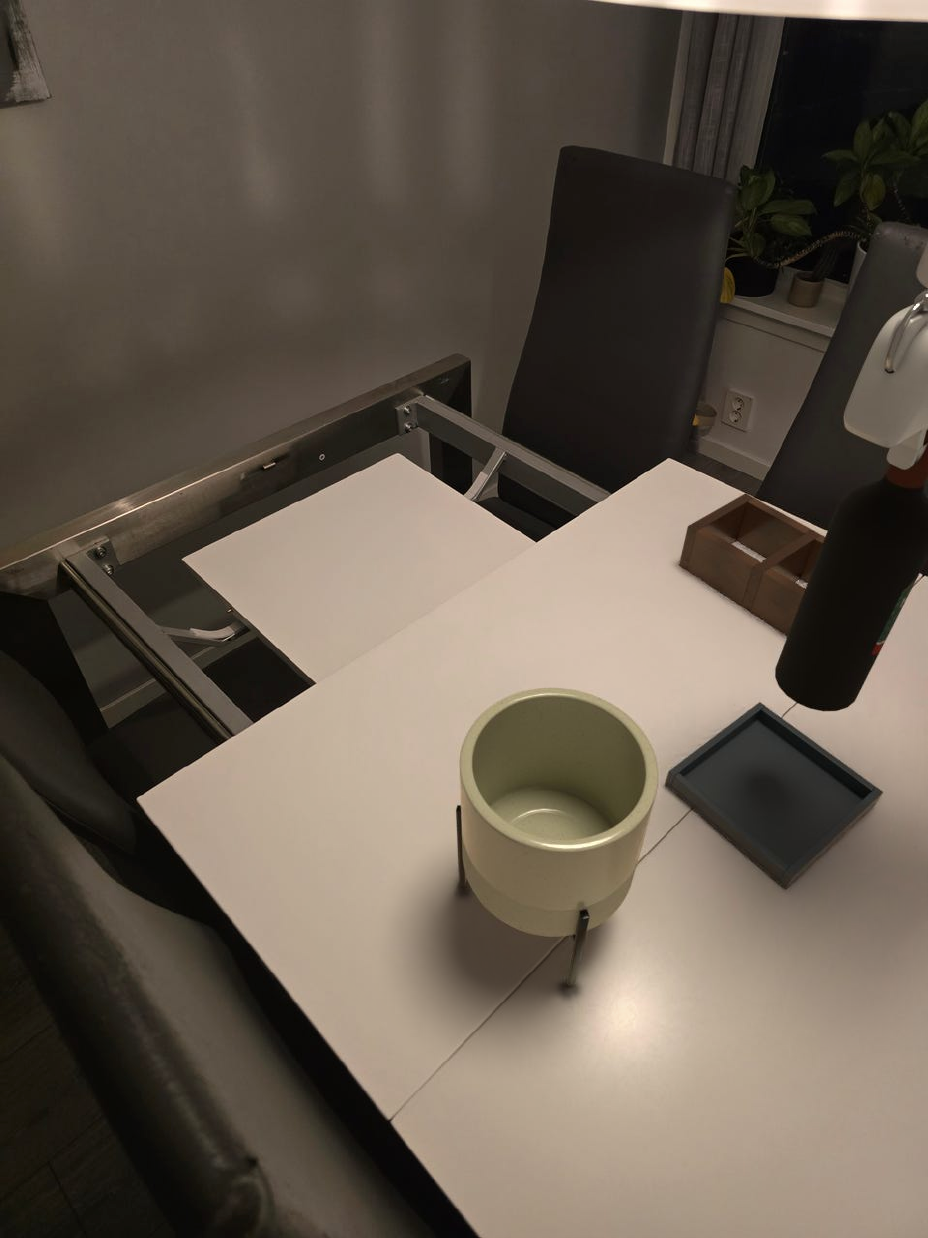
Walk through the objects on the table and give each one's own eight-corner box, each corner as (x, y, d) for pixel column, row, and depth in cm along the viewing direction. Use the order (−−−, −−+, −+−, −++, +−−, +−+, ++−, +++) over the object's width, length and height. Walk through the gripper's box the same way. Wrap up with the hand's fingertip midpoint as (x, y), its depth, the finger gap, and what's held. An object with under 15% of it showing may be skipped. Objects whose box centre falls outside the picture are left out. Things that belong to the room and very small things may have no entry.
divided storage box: (877, 616, 104) (897, 576, 99) (821, 658, 99) (839, 618, 94) (734, 531, 117) (745, 492, 113) (678, 565, 112) (687, 525, 107)
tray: (875, 804, 83) (883, 791, 82) (785, 889, 77) (792, 877, 75) (754, 714, 92) (759, 701, 91) (664, 784, 86) (668, 771, 84)
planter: (656, 895, 76) (703, 754, 60) (551, 1018, 68) (573, 893, 52) (538, 801, 84) (551, 655, 68) (431, 902, 76) (418, 763, 60)
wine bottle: (769, 648, 78) (873, 363, 57) (849, 655, 77) (984, 368, 56) (780, 707, 72) (899, 415, 52) (866, 715, 71) (1023, 421, 51)
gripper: (966, 318, 41) (876, 527, 51) (1132, 232, 50) (1028, 425, 60) (858, 283, 45) (793, 484, 55) (1031, 208, 54) (948, 393, 63)
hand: (917, 452), depth 57 cm, fingers closed on wine bottle, 3 cm apart
